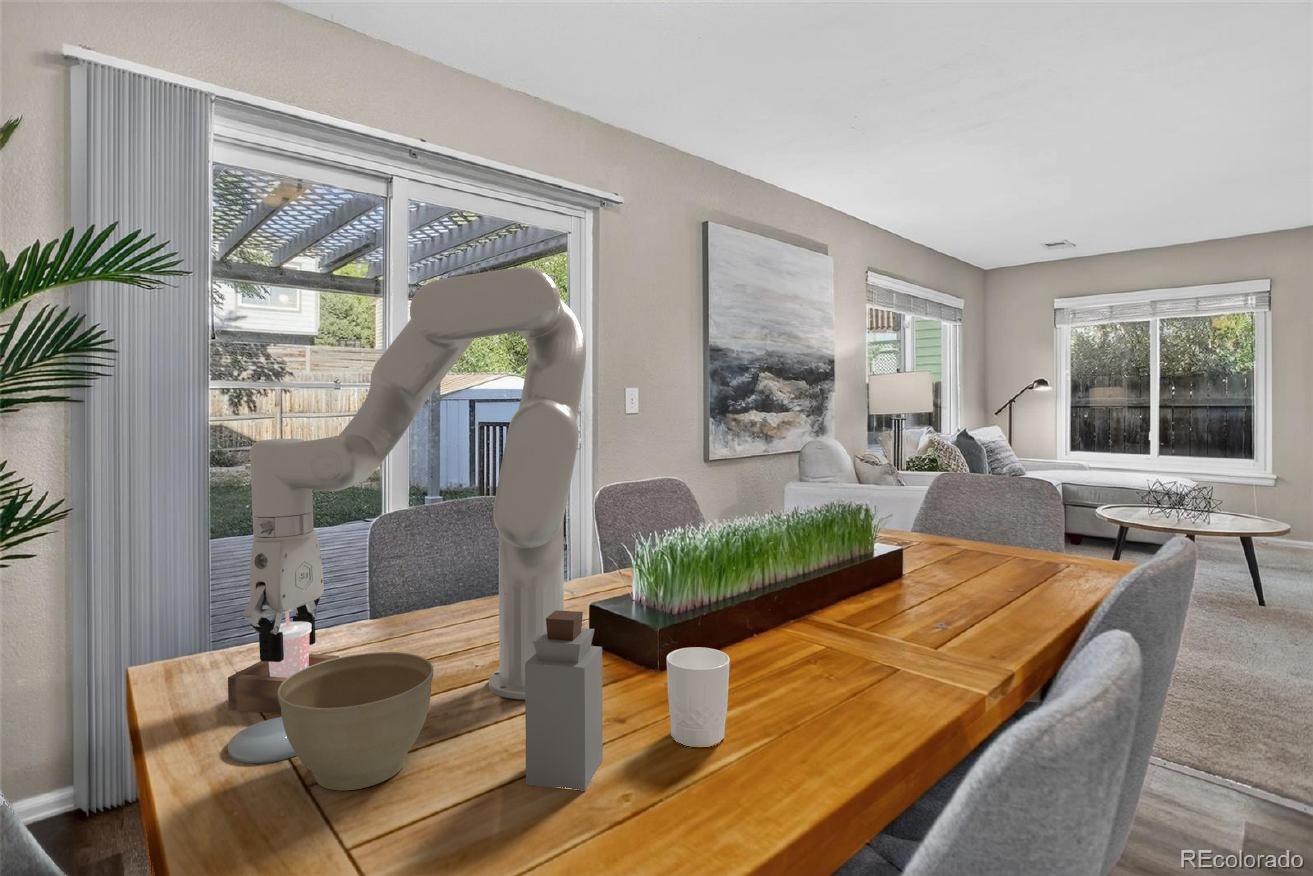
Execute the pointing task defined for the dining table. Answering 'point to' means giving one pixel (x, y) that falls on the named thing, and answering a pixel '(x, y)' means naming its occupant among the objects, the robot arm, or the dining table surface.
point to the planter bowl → (356, 715)
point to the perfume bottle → (563, 705)
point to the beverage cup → (292, 648)
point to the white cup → (698, 695)
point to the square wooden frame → (260, 687)
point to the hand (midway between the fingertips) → (288, 651)
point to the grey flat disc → (261, 743)
